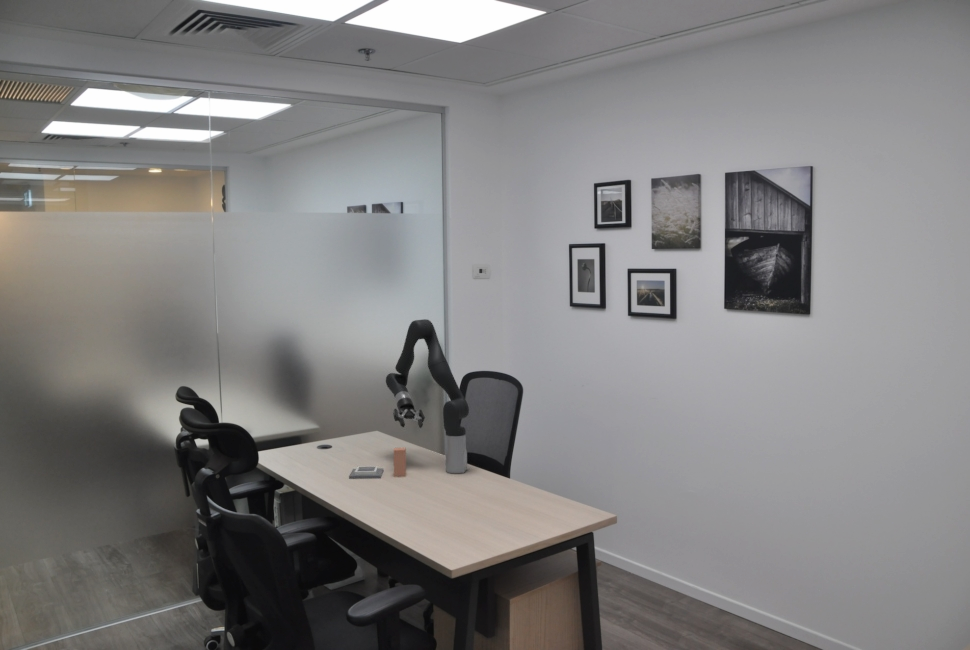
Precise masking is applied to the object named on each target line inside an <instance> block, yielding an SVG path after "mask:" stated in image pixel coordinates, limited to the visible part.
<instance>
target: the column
mask: <svg viewBox="0 0 970 650" xmlns="http://www.w3.org/2000/svg"><path fill="white" fill-rule="evenodd" d="M406 449H407V448H406V447H394V448H393V477H394V478H395V477H406V475H407V458H406V456H407V455H406V453H407V452H406V451H407V450H406Z"/></svg>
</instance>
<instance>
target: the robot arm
mask: <svg viewBox="0 0 970 650" xmlns="http://www.w3.org/2000/svg"><path fill="white" fill-rule="evenodd" d="M406 332H407V333H406V336H405V340H404V343H403V344H404V345H403V348H402V350H401V353H400V356H399V358H398V360H397V362H396V365H395V367H394V368H395V371H396V372H398V373H394V372H389V373H388V374H387V375H386V377H385V385H386V386H387V388H388V389H389V391H390V392H391V393H392V395H393V396H394V397H393V398H394V399H395V401H394V402H395V404H396V408H394V409H393V412H392V415H393V418H394V421H395V422H399V424H400V427H401V428H405V425H406V423H405V420H404V419H407V420H413V421H414V422H415V421H416V422H417V425H418V427H419V429H421V428H422V427H423V425H424V421H425V418H426V416H425V415H424V413H423V411H422V409H419V410H416V409H415V405H414V402H413V400H412V397H411V395H410V394H409V391H408V388H407V385H408V382H409V381H408V379H409V373H410V370H411V368H412V366H413V364H414V360H415V346H416V344H417V343H418V341H419V340H424V342H425V345H426V346H427V349H428V351H427V352H428V355H427V368H428V370H429V372H430V375H431V377H432V379H433V380H434V381H435V383H436V384H437V385H438V386H439V387H440V388H442V390H444V392H445V393H446V394H447V397H448V398H449V399H450V400H448V401H446V402H445V403H444V405H443V409H442V415H443V416H442V417H443V427H444V431H445V472H447V473H448V474H464V473H465V472H466V471H468V449H467V447H466V446H467V445H466V444H467V442H466V441H467V440H466V439H467V438H466V437H467V436H466V434H467V433H466V428H465V427H464V426H461V425H460V420H462V419H465V418H467V417H468V416H469V413H470V406H469V405H468V401H467V400H466V398H465V396H464V395H463V392H462V391H461V389H460V387H459V386H458V383H457V381H456V379H455V377H454V375H453V373H452V370H451V368H450V365H449V363H448V361H447V358H446V357H445V354H444V352H443V349H442V347H441V343H440V342H439V338H438V335H437V331H436V329H435V326H434V324H433V322H432V321H431V320H429V319H426V318H425V319H416V320H412V321H411V322H410V324H409V326H408V329H407V331H406ZM399 415H400V416H399Z"/></svg>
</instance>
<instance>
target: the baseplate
mask: <svg viewBox="0 0 970 650" xmlns="http://www.w3.org/2000/svg"><path fill="white" fill-rule="evenodd" d="M383 473H384V468H381V467H380V468H379V465H365V466H364V465H359V466H358V465H357V466H356V468H352V470H351V472H350V474H349V475H348V479H350V480H352V479H353V480H354V479H355V480H358V479H363V480H364V479H382V476H383Z"/></svg>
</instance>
